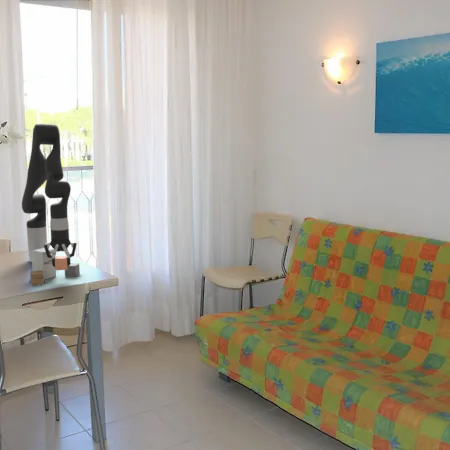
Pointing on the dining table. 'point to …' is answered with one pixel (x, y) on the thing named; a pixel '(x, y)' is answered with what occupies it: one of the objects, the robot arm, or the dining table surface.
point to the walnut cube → (36, 277)
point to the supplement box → (43, 263)
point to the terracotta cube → (61, 263)
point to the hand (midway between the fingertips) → (61, 266)
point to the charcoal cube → (72, 270)
